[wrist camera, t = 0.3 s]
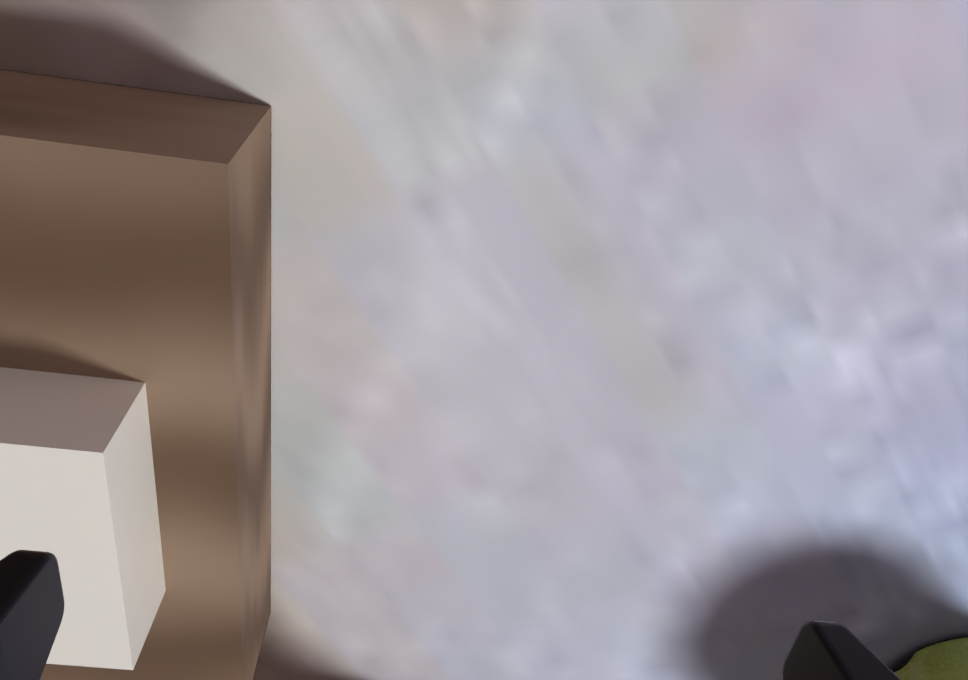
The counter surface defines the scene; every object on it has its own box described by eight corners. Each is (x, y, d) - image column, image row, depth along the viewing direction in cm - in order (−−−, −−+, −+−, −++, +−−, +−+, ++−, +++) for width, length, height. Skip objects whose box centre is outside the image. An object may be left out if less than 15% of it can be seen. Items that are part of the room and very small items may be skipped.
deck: (270, 611, 29) (243, 716, 25) (-86, 582, 28) (-164, 686, 24) (270, 105, 19) (227, 164, 16) (-269, 33, 18) (-438, 79, 15)
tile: (165, 590, 22) (133, 670, 20) (-64, 571, 22) (-122, 650, 20) (145, 381, 19) (103, 452, 16) (-131, 353, 18) (-213, 422, 16)
